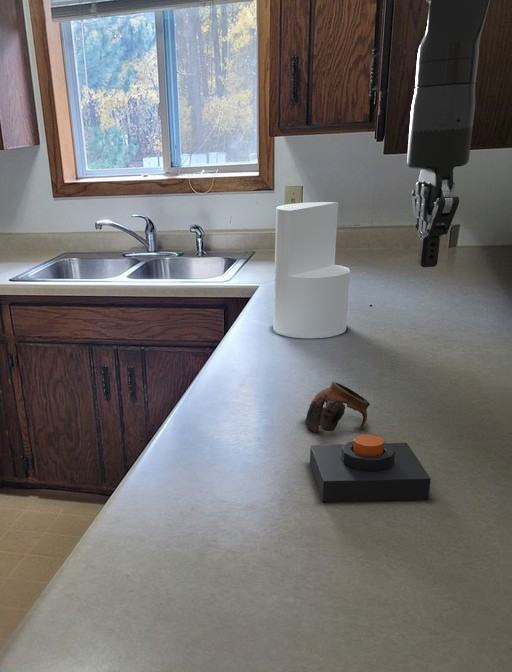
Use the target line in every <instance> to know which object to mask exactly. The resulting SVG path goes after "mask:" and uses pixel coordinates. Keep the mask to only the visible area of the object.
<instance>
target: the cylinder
mask: <svg viewBox="0 0 512 672" xmlns="http://www.w3.org/2000/svg"><path fill="white" fill-rule="evenodd" d="M338 214H339V201H338V202H337V201H312V202H311V201H310V202H295V203H288V204H282V205H279V206H276V208H275V244H274V245H275V247H274V250H275V251H274V286H273V288H274V294H273V297H274V298H273V331H274V332H275V333H276V334H278V335H281V336H283V337H288V338H295V339H296V338H297V339H325V338H330V337H335V336H340V335H341V334H344V333H345V332H346V331H347V324H348V323H347V321H348V306H349V292H350V279H351V278H350V276H351V269H350V268H349V267H347V266H344V265H338V264H336V248H337V231H338V216H339V215H338Z"/></svg>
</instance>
